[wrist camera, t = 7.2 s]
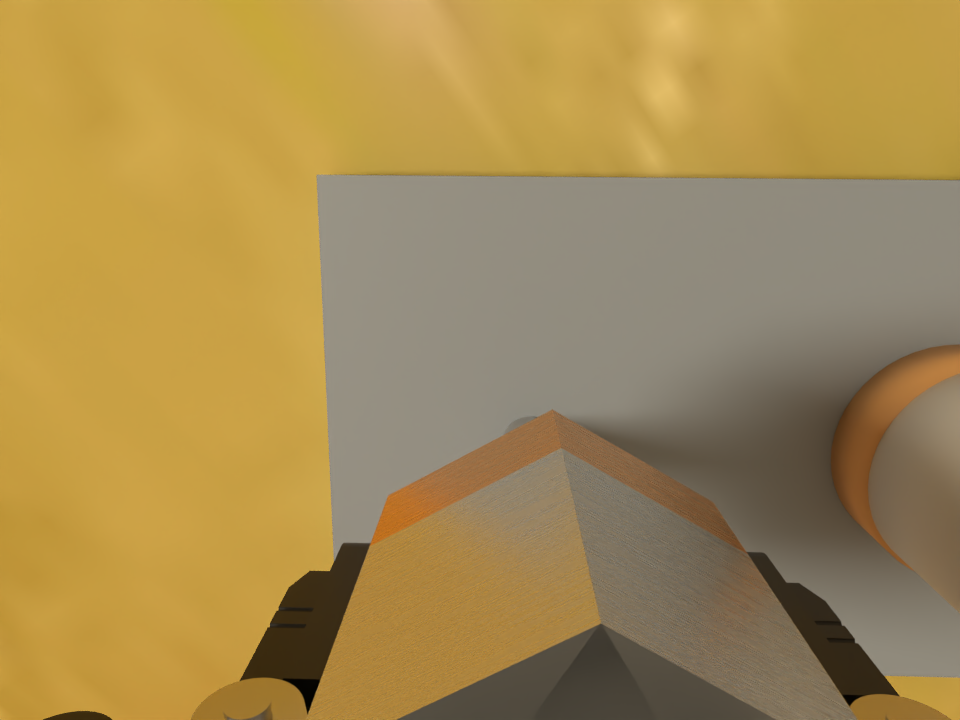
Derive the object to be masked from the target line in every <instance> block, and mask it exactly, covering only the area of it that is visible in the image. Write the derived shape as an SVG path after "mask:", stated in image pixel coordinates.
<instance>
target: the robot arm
mask: <svg viewBox="0 0 960 720" xmlns="http://www.w3.org/2000/svg"><path fill="white" fill-rule="evenodd" d="M369 546H370V543H343V544H342V545H341V547H340V550H339V552H338V554H337V556H336V559H335V561H334V563H333V565H332V568H331V570H330V571H309V572H308V573H307V574H306V575H304V576H303V577H302V578H300V579H299V580H298V581H297V582H295V583H294V584H293V585H292V586H290V587H289V588H288V590H287V592H286V594H285V596H284V598H283V600H282V602H281V604H280V606H279V610H278V611H276V613H275V615H274V617H273V619H272V621H271V623H270V628H267V630H266V632H265V634H264V636H263V638H262V640H261V642H260V644H259V645H258V647H257V649H256V651H255V653H254V655H253V657H252V659H251V661H250V663H249V664H248V666H247V668H246V670H245V672H244V674H243V676H242V678H241V680H240V681H239V682H235V683H233V684H230V685H228V686H225V687H223V688H221V689H219V690H218V691H216V692H214V693H213V694H212V695H210V696H209V697H208V698H206V699H205V700H204V701H203V702H202V703H201V704H200V705H199V706H198V708H197V709H196V710H195V712H194V714H193V715H192V718H191V720H306V718H307V716H308V713H309V710H310V707H311V705H312V702H313V699H314V696H315V694H316V691H317V688H318V685H319V683H320V680H321V677H322V675H323V672H324V669H325V666H326V664H327V661H328V658H329V655H330V653H331V650H332V647H333V644H334V642H335V639H336V636H337V634H338V631H339V628H340V625H341V623H342V620H343V617H344V614H345V612H346V609H347V606H348V604H349V601H350V598H351V595H352V593H353V590H354V587H355V584H356V582H357V579H358V576H359V573H360V571H361V568H362V565H363V563H364V560H365V557H366V554H367V552H368V549H369ZM747 554H748V555H749V557H750V558H751V560H752V561H753V563H754V564H755V566H756V567H757V569H758V570H759V572H760V573H761V575H762V576H763V578H764V579H765V581H766V582H767V584H768V585H769V587H770V588H771V590H772V591H773V593H774V594H775V596H776V597H777V599H778V600H779V602H780V603H781V605H782V606H783V608H784V609H785V611H786V612H787V614H788V615H789V617H790V618H791V620H792V621H793V623H794V624H795V626H796V627H797V629H798V630H799V632H800V633H801V635H802V636H803V638H804V639H805V641H806V642H807V644H808V645H809V647H810V648H811V650H812V651H813V653H814V654H815V656H816V657H817V659H818V660H819V662H820V663H821V665H822V666H823V668H824V669H825V671H826V672H827V674H828V675H829V677H830V678H831V680H832V681H833V683H834V684H835V686H836V687H837V689H838V690H839V692H840V693H841V695H842V696H843V698H844V699H845V701H846V702H847V704H848V705H849V707H850V708H851V710H852V711H853V713H854V714H855V716H856V717H857V719H858V720H951V719H950V718H948V717H947V716H945V715H944V714H942V713H941V712H939V711H937V710H935V709H933V708H931V707H929V706H927V705H925V704H922V703H920V702H917V701H914V700H911V699H908V698H904V697H900V696H899V695H898V693H897V692H896V691H895V690H894V688H893V687H892V686H891V684H890V683H889V682H888V681H887V679H886V678H885V677H884V675H883V674H882V673H881V672H880V670H879V669H878V668H877V666H876V665H875V664H874V663H873V661H872V660H871V659H870V658H869V656H868V655H867V654H866V652H865V651H864V650H863V649H862V647H861V646H860V645H859V643H855V638H854V637H853V636H852V634H851V633H850V632H849V631H848V629H847V628H846V627H845V626H842V624H841V620H840V619H839V618H838V616H837V615H836V614H835V613H834V611H833V610H832V609H831V608H830V606H829V605H828V604H827V602H826V601H825V600H823V599H822V598H820V597H819V596H817V595H816V594H814V593H813V592H812V591H810V590H809V589H807V588H806V587H804V586H803V585H801V584H800V583H786V581H785V580H784V579H783V577H782V576H781V574H780V573H779V572H778V570H777V569H776V567H775V566H774V565H773V563H772V562H771V560H770V559H769V558H768V556H767V555H766V554H765V553H763V552H747ZM44 720H112V719H111V718H110V717H108V716H106V715H104V714H101V713H97V712H90V711H76V712H69V713H64V714H60V715H55V716H52V717H49V718H46V719H44Z"/></svg>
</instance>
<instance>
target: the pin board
mask: <svg viewBox="0 0 960 720" xmlns="http://www.w3.org/2000/svg"><path fill="white" fill-rule="evenodd" d="M317 193H318V216H319V238H320V260H321V282H322V304H323V326H324V349H325V371H326V393H327V415H328V437H329V459H330V481H331V504H332V526H333V548H334V561H335V559H336V556H337V554H338V552H339V550H340V547H341V545H342V544H343V543H371V541H372V538H373V535H374V533H375V530H376V527H377V524H378V522H379V519H380V516H381V513H382V511H383V508H384V505H385V502H386V500H387V497H388V495H390V494H392V493H394V492H396V491H398V490H399V489H401V488H403V487H405V486H407V485H409V484H411V483H413V482H415V481H417V480H419V479H420V478H422V477H424V476H426V475H428V474H430V473H432V472H434V471H436V470H438V469H440V468H441V467H443V466H445V465H447V464H449V463H451V462H453V461H455V460H457V459H459V458H461V457H462V456H464V455H466V454H468V453H470V452H472V451H474V450H476V449H478V448H480V447H482V446H483V445H485V444H487V443H489V442H491V441H493V440H495V439H497V438H499V437H501V436H503V435H504V434H506V433H508V432H510V431H512V430H514V429H516V428H518V427H520V426H522V425H524V424H525V423H527V422H529V421H531V420H533V419H535V418H537V417H539V416H541V415H543V414H545V413H546V412H548V411H550V410H552V409H553V410H554V411H556V412H558V413H560V414H561V415H563V416H565V417H567V418H568V419H570V420H572V421H574V422H575V423H577V424H579V425H581V426H582V427H584V428H586V429H587V430H589V431H591V432H593V433H594V434H596V435H598V436H600V437H601V438H603V439H605V440H607V441H608V442H610V443H612V444H613V445H615V446H617V447H619V448H620V449H622V450H624V451H626V452H627V453H629V454H631V455H633V456H634V457H636V458H638V459H639V460H641V461H643V462H645V463H646V464H648V465H650V466H652V467H653V468H655V469H657V470H659V471H660V472H662V473H664V474H665V475H667V476H669V477H671V478H672V479H674V480H676V481H678V482H679V483H681V484H683V485H685V486H686V487H688V488H690V489H691V490H693V491H695V492H697V493H698V494H700V495H702V496H704V497H705V498H707V499H709V500H711V501H712V502H713V503H714V504H715V506H716V507H717V509H718V510H719V512H720V513H721V515H722V516H723V518H724V519H725V521H726V522H727V524H728V525H729V527H730V528H731V530H732V531H733V533H734V534H735V536H736V537H737V539H738V540H739V542H740V543H741V545H742V546H743V548H744V549H745V551H746V552H763V553H765V554H766V555H767V556H768V558H769V559H770V560H771V562H772V563H773V565H774V566H775V567H776V569H777V570H778V572H779V573H780V574H781V576H782V577H783V579H784V580H785V581H786V583H800V584H801V585H803V586H804V587H806V588H807V589H809V590H810V591H812V592H813V593H814V594H816V595H817V596H819V597H820V598H822V599H823V600H825V601H826V602H827V604H828V605H829V606H830V608H831V609H832V610H833V611H834V613H835V614H836V615H837V616H838V618H839V619H840V620H841V624H842V626H845V627H846V628H847V629H848V631H849V632H850V633H851V634H852V636H853V637H854V638H855V643H859V645H860V646H861V647H862V649H863V650H864V651H865V652H866V654H867V655H868V656H869V658H870V659H871V660H872V661H873V663H874V664H875V665H876V666H877V668H878V669H879V670H880V672H881V673H882V674H883V675H884V676H921V677H959V678H960V180H866V179H749V178H632V177H514V176H397V175H317Z"/></svg>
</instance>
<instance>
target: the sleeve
mask: <svg viewBox="0 0 960 720" xmlns="http://www.w3.org/2000/svg"><path fill="white" fill-rule="evenodd" d="M306 720H858V719H857V717H856V716H855V714H854V713H853V711H852V710H851V708H850V707H849V705H848V704H847V702H846V701H845V699H844V698H843V696H842V695H841V693H840V692H839V690H838V689H837V687H836V686H835V684H834V683H833V681H832V680H831V678H830V677H829V675H828V674H827V672H826V671H825V669H824V668H823V666H822V665H821V663H820V662H819V660H818V659H817V657H816V656H815V654H814V653H813V651H812V650H811V648H810V647H809V645H808V644H807V642H806V641H805V639H804V638H803V636H802V635H801V633H800V632H799V630H798V629H797V627H796V626H795V624H794V623H793V621H792V620H791V618H790V617H789V615H788V614H787V612H786V611H785V609H784V608H783V606H782V605H781V603H780V602H779V600H778V599H777V597H776V596H775V594H774V593H773V591H772V590H771V588H770V587H769V585H768V584H767V582H766V581H765V579H764V578H763V576H762V575H761V573H760V572H759V570H758V569H757V567H756V566H755V564H754V563H753V561H752V560H751V558H750V557H749V555H748V554H747V552H746V551H745V549H744V548H743V546H742V545H741V543H740V542H739V540H738V539H737V537H736V536H735V534H734V533H733V531H732V530H731V528H730V527H729V525H728V524H727V522H726V521H725V519H724V518H723V516H722V515H721V513H720V512H719V510H718V509H717V507H716V506H715V504H714V503H713V502H712V501H711V500H709V499H707V498H705V497H704V496H702V495H700V494H698V493H697V492H695V491H693V490H691V489H690V488H688V487H686V486H685V485H683V484H681V483H679V482H678V481H676V480H674V479H672V478H671V477H669V476H667V475H665V474H664V473H662V472H660V471H659V470H657V469H655V468H653V467H652V466H650V465H648V464H646V463H645V462H643V461H641V460H639V459H638V458H636V457H634V456H633V455H631V454H629V453H627V452H626V451H624V450H622V449H620V448H619V447H617V446H615V445H613V444H612V443H610V442H608V441H607V440H605V439H603V438H601V437H600V436H598V435H596V434H594V433H593V432H591V431H589V430H587V429H586V428H584V427H582V426H581V425H579V424H577V423H575V422H574V421H572V420H570V419H568V418H567V417H565V416H563V415H561V414H560V413H558V412H556V411H554V410H553V409H552V410H550V411H548V412H546V413H545V414H543V415H541V416H539V417H537V418H535V419H533V420H531V421H529V422H527V423H525V424H524V425H522V426H520V427H518V428H516V429H514V430H512V431H510V432H508V433H506V434H504V435H503V436H501V437H499V438H497V439H495V440H493V441H491V442H489V443H487V444H485V445H483V446H482V447H480V448H478V449H476V450H474V451H472V452H470V453H468V454H466V455H464V456H462V457H461V458H459V459H457V460H455V461H453V462H451V463H449V464H447V465H445V466H443V467H441V468H440V469H438V470H436V471H434V472H432V473H430V474H428V475H426V476H424V477H422V478H420V479H419V480H417V481H415V482H413V483H411V484H409V485H407V486H405V487H403V488H401V489H399V490H398V491H396V492H394V493H392V494H390V495H388V497H387V500H386V502H385V505H384V508H383V511H382V513H381V516H380V519H379V522H378V524H377V527H376V530H375V533H374V535H373V538H372V541H371V543H370V546H369V549H368V552H367V554H366V557H365V560H364V563H363V565H362V568H361V571H360V573H359V576H358V579H357V582H356V584H355V587H354V590H353V593H352V595H351V598H350V601H349V604H348V606H347V609H346V612H345V614H344V617H343V620H342V623H341V625H340V628H339V631H338V634H337V636H336V639H335V642H334V644H333V647H332V650H331V653H330V655H329V658H328V661H327V664H326V666H325V669H324V672H323V675H322V677H321V680H320V683H319V685H318V688H317V691H316V694H315V696H314V699H313V702H312V705H311V707H310V710H309V713H308V716H307V718H306Z"/></svg>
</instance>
